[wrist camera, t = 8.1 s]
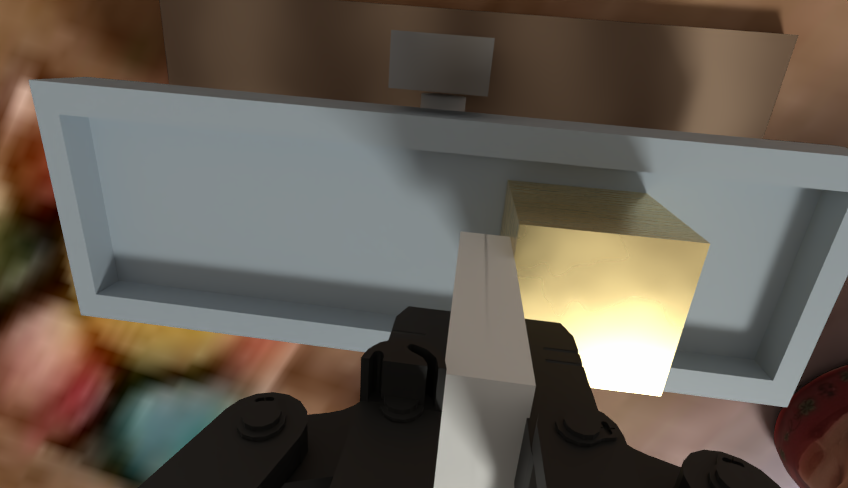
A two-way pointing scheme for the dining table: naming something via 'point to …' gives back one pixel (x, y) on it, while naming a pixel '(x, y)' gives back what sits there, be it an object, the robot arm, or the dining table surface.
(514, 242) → the block
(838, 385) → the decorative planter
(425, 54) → the low stand
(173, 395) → the dining table surface
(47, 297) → the dining table surface
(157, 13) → the dining table surface
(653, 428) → the dining table surface
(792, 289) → the grey long tray
